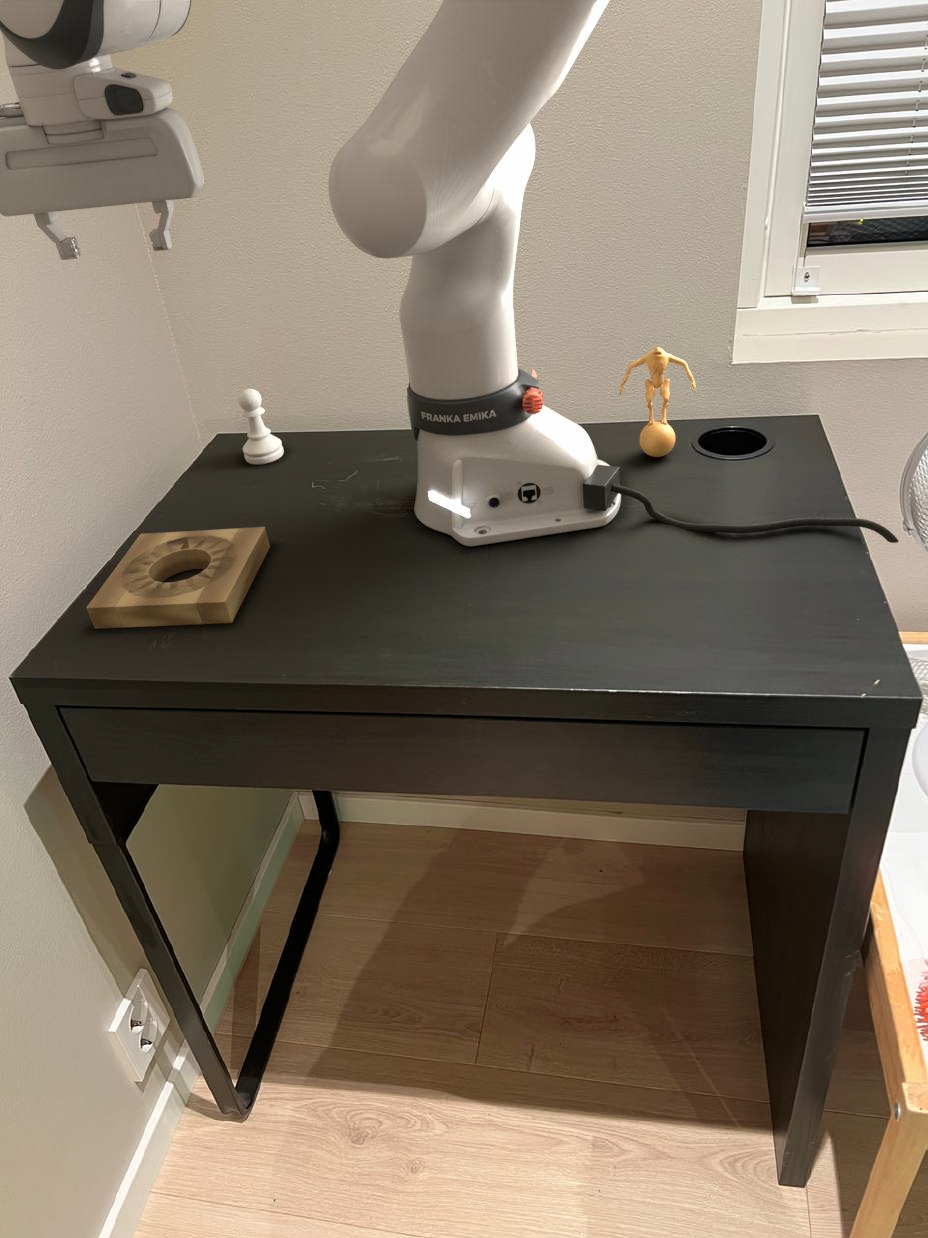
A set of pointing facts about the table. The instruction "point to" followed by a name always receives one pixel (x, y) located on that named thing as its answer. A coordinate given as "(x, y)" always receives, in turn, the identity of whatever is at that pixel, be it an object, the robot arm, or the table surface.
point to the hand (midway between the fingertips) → (117, 253)
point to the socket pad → (192, 601)
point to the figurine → (659, 434)
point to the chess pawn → (258, 431)
